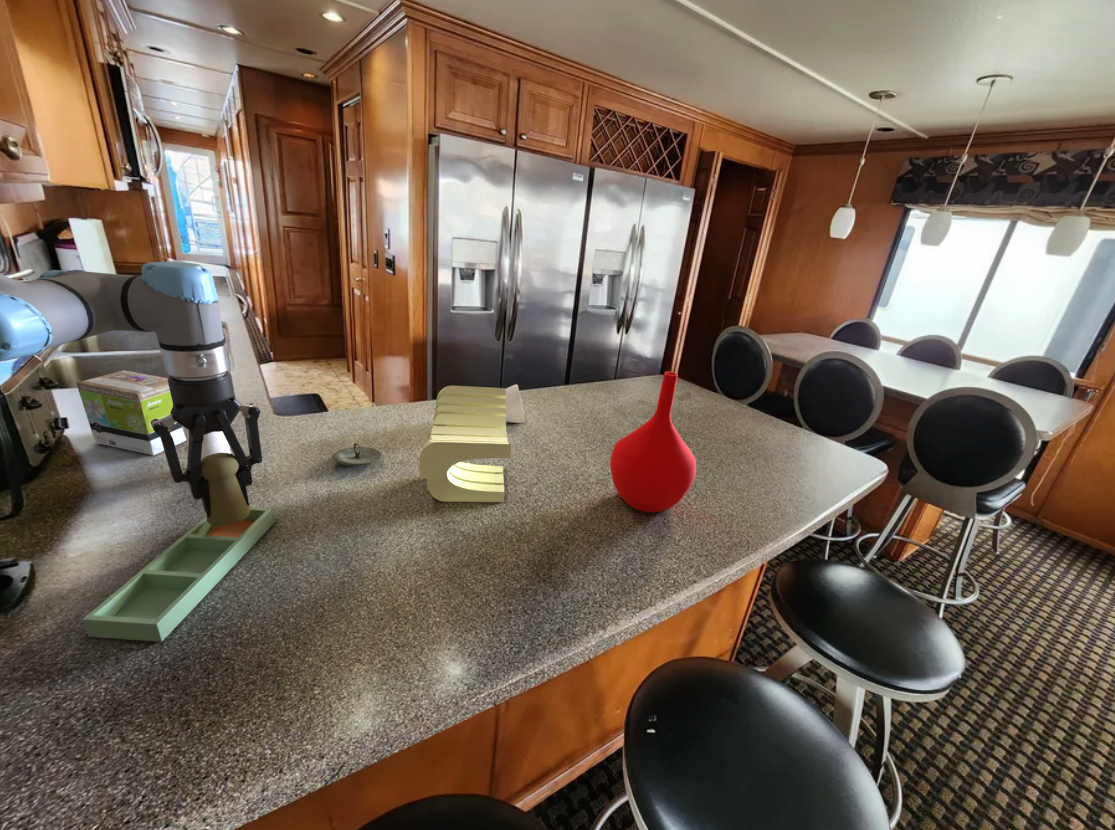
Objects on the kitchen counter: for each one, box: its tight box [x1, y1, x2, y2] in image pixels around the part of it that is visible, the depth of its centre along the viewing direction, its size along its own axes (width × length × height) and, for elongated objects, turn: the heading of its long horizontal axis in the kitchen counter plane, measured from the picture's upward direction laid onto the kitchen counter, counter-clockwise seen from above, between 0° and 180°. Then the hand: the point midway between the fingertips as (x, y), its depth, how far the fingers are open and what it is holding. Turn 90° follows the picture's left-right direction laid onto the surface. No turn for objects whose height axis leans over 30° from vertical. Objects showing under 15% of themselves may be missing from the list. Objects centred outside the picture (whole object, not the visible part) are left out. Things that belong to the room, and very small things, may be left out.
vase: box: [609, 371, 697, 514], centre depth 97 cm, size 18×18×30 cm
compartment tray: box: [81, 506, 275, 643], centre depth 70 cm, size 9×26×3 cm, turn 1°
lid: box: [331, 443, 383, 467], centre depth 104 cm, size 11×10×5 cm
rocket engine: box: [505, 383, 525, 424], centre depth 133 cm, size 12×12×18 cm
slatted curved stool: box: [418, 385, 512, 503], centre depth 97 cm, size 30×16×18 cm, turn 8°
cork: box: [200, 453, 251, 526], centre depth 74 cm, size 6×6×11 cm
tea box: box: [76, 369, 187, 456], centre depth 101 cm, size 15×10×15 cm
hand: (227, 507), depth 76 cm, fingers closed on cork, 4 cm apart
